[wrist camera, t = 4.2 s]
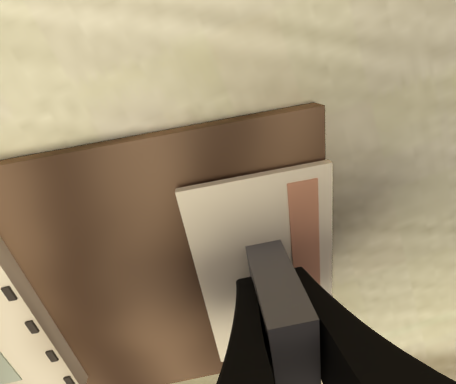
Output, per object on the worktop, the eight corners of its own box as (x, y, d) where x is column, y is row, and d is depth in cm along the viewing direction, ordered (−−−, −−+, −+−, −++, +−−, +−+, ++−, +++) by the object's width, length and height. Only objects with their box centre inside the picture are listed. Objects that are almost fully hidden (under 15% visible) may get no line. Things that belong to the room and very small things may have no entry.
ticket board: (313, 102, 11) (334, 108, 9) (319, 335, 17) (333, 364, 15) (-249, 206, 10) (-334, 231, 9) (-38, 409, 16) (-64, 447, 14)
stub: (328, 159, 10) (408, 214, 6) (328, 332, 15) (377, 430, 11) (175, 188, 10) (161, 262, 6) (220, 354, 14) (229, 462, 11)
